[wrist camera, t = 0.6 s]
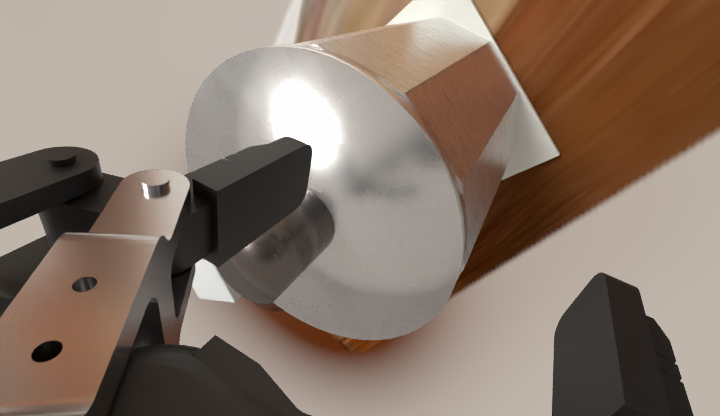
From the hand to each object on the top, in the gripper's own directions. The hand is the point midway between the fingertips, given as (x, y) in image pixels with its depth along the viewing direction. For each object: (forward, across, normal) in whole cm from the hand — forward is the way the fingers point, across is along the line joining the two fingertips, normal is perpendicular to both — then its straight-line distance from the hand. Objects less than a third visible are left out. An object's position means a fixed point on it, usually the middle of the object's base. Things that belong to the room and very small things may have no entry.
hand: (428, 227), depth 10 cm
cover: (+24, +7, +6) cm, 26 cm away
